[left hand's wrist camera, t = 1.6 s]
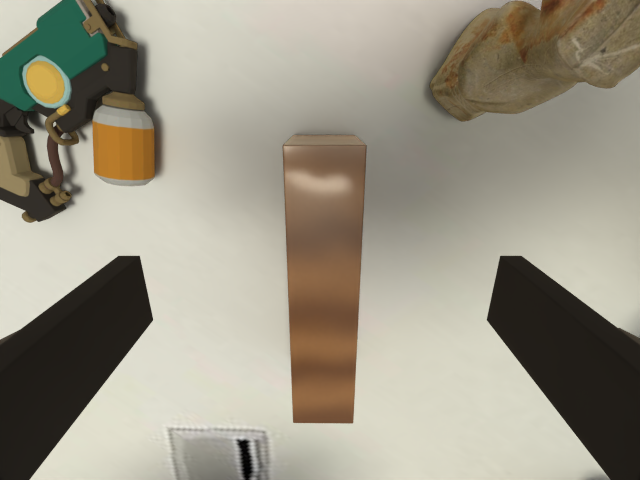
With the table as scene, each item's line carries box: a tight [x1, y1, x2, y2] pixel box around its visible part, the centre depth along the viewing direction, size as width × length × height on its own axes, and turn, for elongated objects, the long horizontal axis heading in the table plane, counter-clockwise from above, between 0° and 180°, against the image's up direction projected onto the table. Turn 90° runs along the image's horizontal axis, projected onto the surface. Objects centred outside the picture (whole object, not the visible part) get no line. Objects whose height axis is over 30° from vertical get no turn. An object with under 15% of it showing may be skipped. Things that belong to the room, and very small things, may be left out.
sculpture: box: [430, 0, 640, 121], centre depth 20 cm, size 6×7×15 cm
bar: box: [283, 135, 366, 423], centre depth 29 cm, size 23×5×8 cm, turn 0°
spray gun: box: [0, 0, 155, 223], centre depth 27 cm, size 4×17×15 cm
